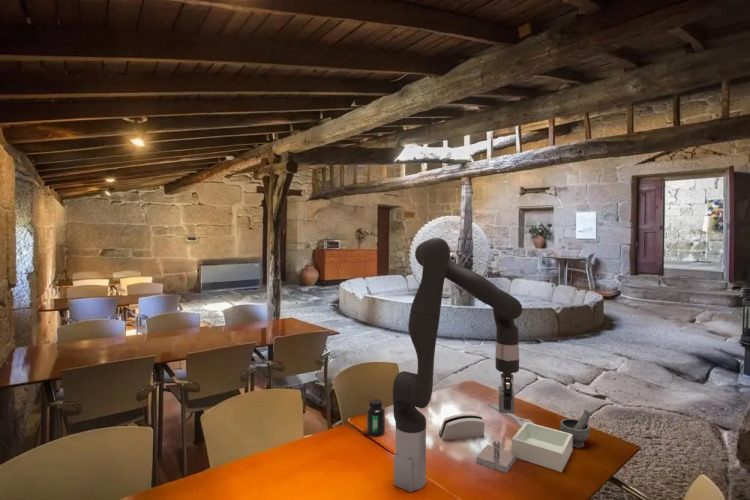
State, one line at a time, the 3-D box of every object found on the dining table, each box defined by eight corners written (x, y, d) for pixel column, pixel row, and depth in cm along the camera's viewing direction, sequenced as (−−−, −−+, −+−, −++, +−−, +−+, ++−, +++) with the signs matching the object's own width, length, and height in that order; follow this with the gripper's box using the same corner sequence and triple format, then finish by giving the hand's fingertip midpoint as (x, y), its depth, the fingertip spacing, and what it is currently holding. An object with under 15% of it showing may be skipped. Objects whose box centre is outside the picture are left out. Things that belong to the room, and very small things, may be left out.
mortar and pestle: (569, 450, 143) (569, 416, 143) (554, 437, 153) (555, 405, 152) (599, 448, 145) (600, 415, 144) (582, 436, 154) (583, 404, 154)
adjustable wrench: (486, 406, 182) (487, 402, 182) (499, 404, 184) (499, 400, 184) (524, 431, 158) (524, 427, 158) (538, 429, 160) (538, 424, 160)
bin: (562, 472, 130) (562, 453, 130) (511, 456, 140) (511, 438, 139) (572, 451, 143) (572, 434, 143) (525, 437, 153) (525, 421, 152)
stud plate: (506, 473, 130) (506, 452, 129) (476, 462, 136) (476, 442, 135) (516, 459, 138) (516, 439, 137) (487, 450, 144) (487, 430, 143)
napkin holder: (478, 429, 159) (482, 409, 155) (483, 439, 155) (488, 418, 151) (437, 433, 156) (441, 412, 152) (441, 443, 151) (445, 422, 148)
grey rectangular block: (498, 412, 136) (498, 391, 136) (498, 406, 141) (498, 386, 140) (514, 413, 135) (514, 393, 134) (513, 407, 139) (513, 387, 139)
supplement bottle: (377, 438, 152) (377, 406, 151) (363, 433, 156) (363, 402, 155) (388, 431, 157) (388, 400, 157) (374, 426, 161) (374, 396, 161)
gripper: (495, 349, 145) (495, 396, 146) (495, 361, 131) (495, 414, 132) (517, 350, 143) (517, 398, 144) (520, 363, 129) (520, 416, 130)
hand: (507, 405), depth 138 cm, fingers closed on grey rectangular block, 4 cm apart
